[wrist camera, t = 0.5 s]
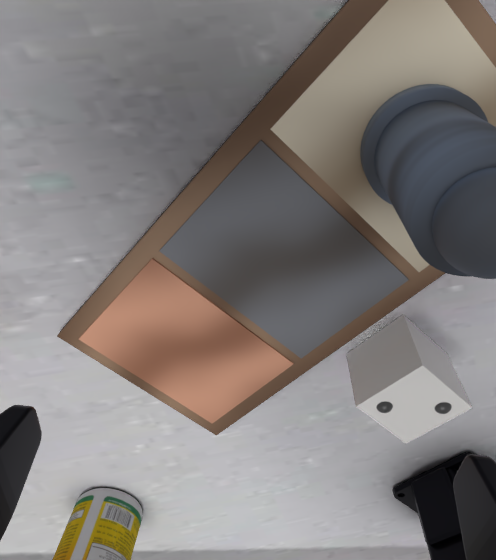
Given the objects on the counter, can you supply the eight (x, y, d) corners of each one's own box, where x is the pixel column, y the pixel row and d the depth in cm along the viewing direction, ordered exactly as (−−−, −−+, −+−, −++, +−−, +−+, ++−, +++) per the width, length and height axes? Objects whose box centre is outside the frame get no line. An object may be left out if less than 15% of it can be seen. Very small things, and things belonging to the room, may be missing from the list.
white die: (447, 353, 25) (474, 412, 21) (390, 388, 27) (406, 448, 23) (402, 313, 24) (424, 369, 20) (346, 352, 26) (356, 410, 22)
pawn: (504, 143, 18) (665, 247, 10) (407, 221, 20) (483, 355, 13) (433, 55, 16) (561, 102, 9) (336, 149, 19) (374, 252, 11)
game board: (590, 161, 19) (599, 165, 18) (217, 429, 30) (216, 436, 29) (416, -78, 15) (421, -81, 14) (60, 330, 26) (56, 337, 25)
